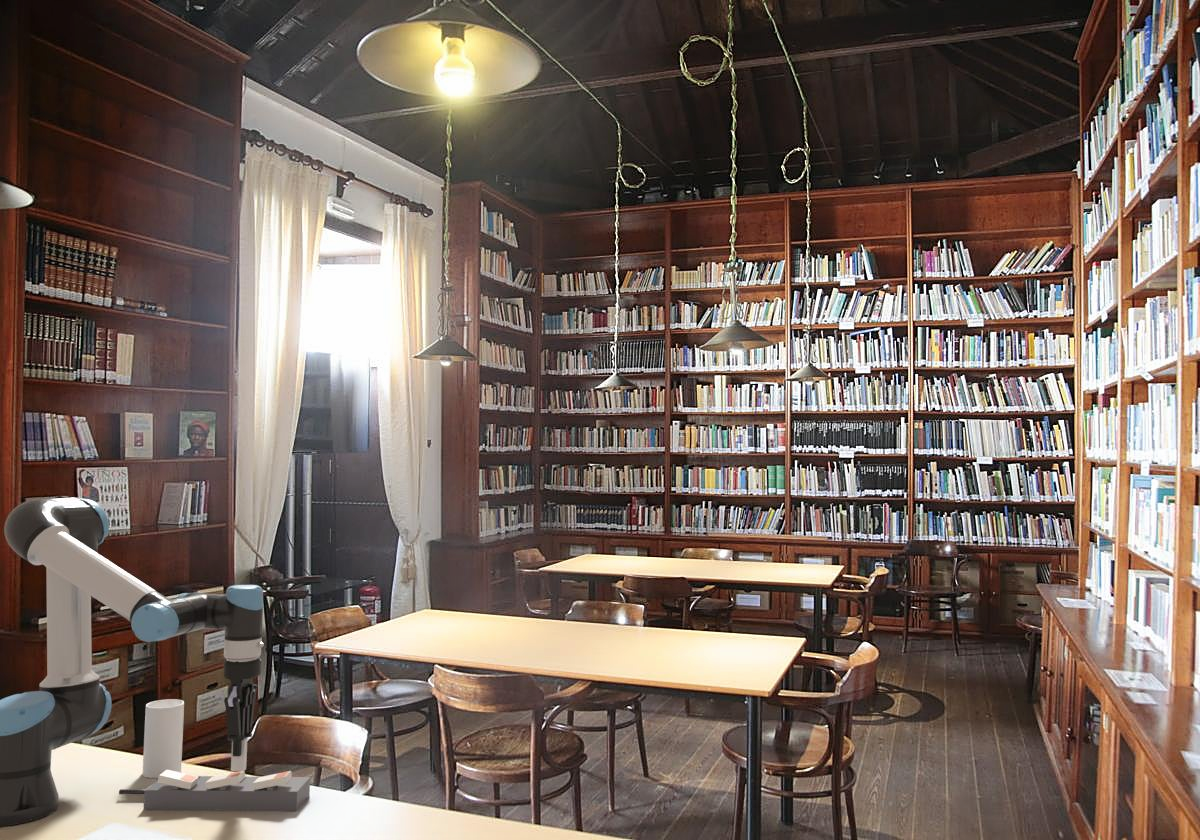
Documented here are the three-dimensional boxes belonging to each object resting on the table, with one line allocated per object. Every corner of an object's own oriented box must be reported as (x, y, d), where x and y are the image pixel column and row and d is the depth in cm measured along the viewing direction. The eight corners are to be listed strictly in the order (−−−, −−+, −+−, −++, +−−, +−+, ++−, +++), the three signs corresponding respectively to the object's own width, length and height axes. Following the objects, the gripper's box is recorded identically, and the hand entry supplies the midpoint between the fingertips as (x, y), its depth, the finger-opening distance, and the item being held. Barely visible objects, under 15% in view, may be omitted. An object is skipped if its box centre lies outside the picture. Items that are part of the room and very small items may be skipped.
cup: (188, 767, 215) (191, 699, 216) (168, 778, 207) (171, 708, 208) (155, 765, 216) (158, 698, 217) (134, 777, 208) (138, 707, 209)
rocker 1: (157, 782, 189) (159, 774, 189) (165, 776, 193) (167, 769, 193) (189, 789, 189) (191, 782, 189) (197, 783, 193) (198, 776, 193)
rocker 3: (253, 790, 189) (252, 782, 189) (260, 784, 193) (258, 776, 193) (286, 783, 190) (285, 776, 190) (292, 777, 193) (290, 770, 193)
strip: (104, 809, 188) (106, 787, 188) (126, 794, 197) (127, 773, 197) (296, 810, 189) (297, 789, 189) (309, 795, 198) (310, 774, 198)
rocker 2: (206, 789, 189) (205, 782, 189) (213, 783, 193) (212, 776, 193) (239, 782, 189) (237, 775, 189) (245, 777, 193) (244, 769, 193)
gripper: (249, 664, 186) (244, 780, 185) (270, 652, 199) (266, 760, 198) (212, 664, 186) (208, 780, 185) (236, 652, 199) (232, 760, 198)
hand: (238, 769), depth 191 cm, fingers closed
